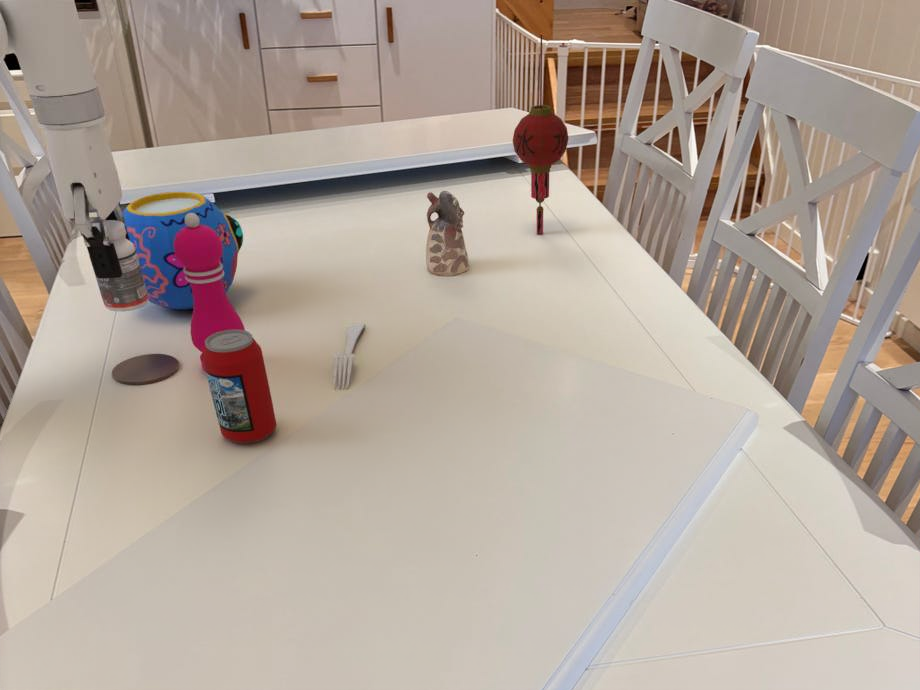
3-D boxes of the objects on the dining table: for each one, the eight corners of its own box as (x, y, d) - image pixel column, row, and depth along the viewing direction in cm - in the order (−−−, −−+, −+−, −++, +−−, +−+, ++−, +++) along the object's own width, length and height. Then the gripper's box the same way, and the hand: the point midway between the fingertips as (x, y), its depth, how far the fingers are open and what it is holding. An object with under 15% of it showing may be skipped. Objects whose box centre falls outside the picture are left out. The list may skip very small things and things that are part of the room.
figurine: (469, 275, 149) (465, 196, 141) (425, 277, 149) (420, 198, 141) (469, 260, 154) (466, 183, 146) (427, 261, 155) (422, 185, 147)
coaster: (105, 386, 123) (104, 384, 122) (121, 358, 129) (120, 355, 129) (172, 382, 123) (171, 380, 123) (184, 354, 130) (183, 351, 129)
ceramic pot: (270, 294, 146) (252, 194, 136) (186, 334, 135) (159, 228, 125) (195, 275, 153) (172, 179, 144) (110, 311, 143) (79, 210, 133)
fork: (368, 340, 137) (366, 321, 135) (351, 389, 120) (349, 368, 118) (349, 341, 137) (347, 322, 135) (330, 390, 120) (327, 369, 118)
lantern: (577, 231, 163) (583, 32, 143) (542, 246, 158) (544, 42, 138) (537, 221, 168) (538, 28, 148) (502, 235, 163) (499, 36, 143)
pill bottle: (98, 304, 120) (73, 225, 114) (138, 292, 123) (116, 215, 117) (115, 316, 117) (91, 236, 111) (157, 304, 120) (135, 225, 113)
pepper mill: (189, 375, 125) (149, 221, 111) (213, 352, 130) (178, 203, 117) (238, 379, 123) (203, 223, 110) (260, 356, 128) (229, 205, 115)
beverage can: (211, 434, 112) (187, 340, 104) (257, 415, 115) (237, 322, 107) (242, 453, 108) (219, 357, 100) (288, 432, 111) (270, 337, 103)
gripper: (57, 94, 111) (103, 247, 123) (11, 128, 98) (68, 295, 110) (119, 91, 112) (159, 244, 123) (81, 124, 99) (130, 291, 111)
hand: (115, 266), depth 117 cm, fingers closed on pill bottle, 5 cm apart
